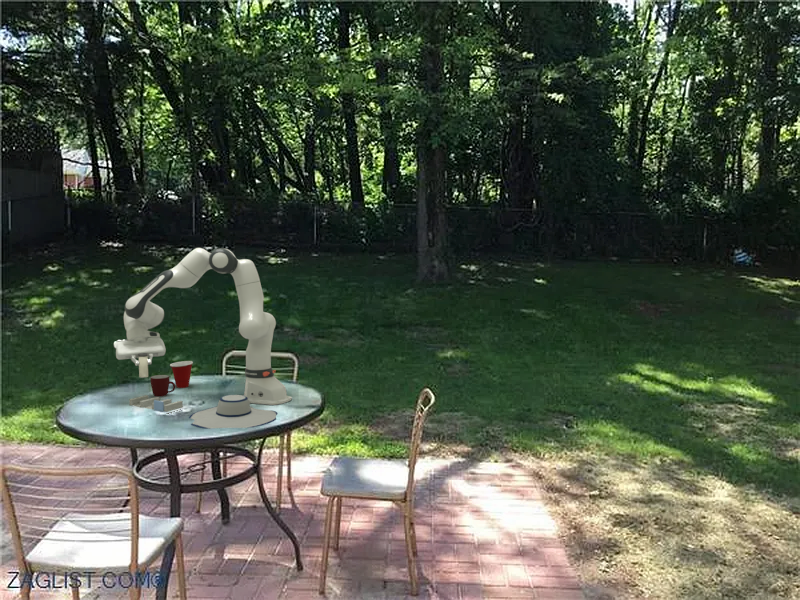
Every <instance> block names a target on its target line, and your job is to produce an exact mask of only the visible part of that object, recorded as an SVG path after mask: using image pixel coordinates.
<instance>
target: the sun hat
mask: <svg viewBox="0 0 800 600" xmlns="http://www.w3.org/2000/svg"><path fill="white" fill-rule="evenodd" d="M277 416H278V412H277V411H275V410H269V409H259V408H255V407H253V406H251V403H249V400H248V398H247V397H246V396H244V394H243V395H242V394H228V395H223V396H222V397H220V398H219V400H218V402H217V406H213V407H209V408H205V409H201V410H198V411H195V412H193V413H191V414H190V415H189V417H188V419H191V420H194V421H193V422H192V423H190V425H191V426H194V427H197V428H200V429H228V428H229V429H230V428H231V429H243V428H244V429H245V428H246V429H249V428H255V427H261V426H265V425H268V424H271V423H274V422H275V421H276V420H277Z"/></svg>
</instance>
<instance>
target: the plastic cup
mask: <svg viewBox="0 0 800 600" xmlns="http://www.w3.org/2000/svg"><path fill="white" fill-rule="evenodd" d="M193 364H194V362H193V361H192V360H184V361H177V362H173V363H170V364H169V366H170V368H171V369H172V373H173V374H172V375H173V379H174V381H175V382H174V384H175V388H178V389H186V388H189V387H190V380H191V375H192V374H191V373H192V367H193Z"/></svg>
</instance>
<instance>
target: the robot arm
mask: <svg viewBox="0 0 800 600" xmlns="http://www.w3.org/2000/svg"><path fill="white" fill-rule="evenodd" d="M209 270H213V271H214V272H217V273H218V274H230V275H231V276H232V278H233V281H234V285H235V290H236V293H237V297H238V298H237V299H238V303H239V325H238V333H239V334H240V336H242V337H243V338H244V339H246V340H248V343H247V347H246V349H245V369H244V376H245V385H244V386H245V387H244V392H243V396H246V397H247V398H248V400H249V403H250V404H256V405H258V404H259V405H270V406H274V405H275V406H276V405H281V404H285V403H287V402H290V401H291V400H292V397H293V396H290V395H287V389H286V386H285V384H283V383H282V382H281V381H280V380H279V379H278V378H276V376H275V373H276V371H277V370H276V369H274V370H273V368H272V366H271V362H272V353H271V352H272V344H273V338H274V337H273V336H274V331H275V328H276V325H277V321H276V318H275V317H274V316H273V314H272V313H269V312H266V311H264V300H265V295H264V292H263V289H262V285H261V280H260V276H259V273H258V270H257V267H256V265H255V263H254V262H253V261H252V260H251V259H247V258H242V259H238V258H237V257H236V255H235V254H234V252H233V251H231V250H230V249H228V248H221V247H219V248H215V249H214V250H213V251H211V252H209V251H207V250H206V249H204V248H202V247H195V248H194V249H193V250H191V251H190V252H189V253H188V254H186V255H185V256H184V257H183V258H182V260H180V262H179V263H178V264H176V265H175V266H174V267H173V268H172V267H171V268H170V269H167V270H164V271H162V272H161V273H159V274H157V276H155V278H153V279H152V280H151V281H150V282H148V283H147V284H146V285H145V286H144V287H143V288H141V289H140V290H139V291H138V292H136V293H134V294H133V295H131V296H129V298H128V299H127V300H126V302H125V304H124V313H123V324H124V329H125V331H126V339H117V340H116V341H114V342H113V348H114V349H115V357H116V359H117V360H118V361H119V360H131V362H133V363H134V365H135V367H137V366H138V367H139V356H138V354H139V353H148V366H149V365H152V360H153V357H163V356H165V354H166V351H167V350H166V346H165V345H166V344H165V343H164V340H163V339H162V338H161V336H160V335H161V334H160V333H159V332H158V331H151V330H152V329H154V328H156V327H157V326H159V325H161V324H162V322H163V321H164V319H165V311H164V309H163V307H161V306H159V305H158V304H156V303H153V302H152V301H151V300H152V299H153V298H154V297H156V295H158V294H159V293H161V291H162V290H164V289H167V288H179V289H188V288H189V289H190V288H191V287H192V286H194V285H195V284H197V282H198V281H199V280H200V279H201V278H202V277H203V275H204V274H205V273H206V272H208V271H209ZM137 359H138V360H137Z"/></svg>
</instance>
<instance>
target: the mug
mask: <svg viewBox="0 0 800 600" xmlns="http://www.w3.org/2000/svg"><path fill="white" fill-rule="evenodd" d="M170 385H172V389H171V390H169V388H170ZM150 386H151V387H150V388H151V391H152V395H153V397H160V398H162V397H166V396H167V395H168V394H169V393H172V392H174V391H175V390H176V383H175V382H174V381H172V380H171V381H170V375H166V374H158V375H152V376H150Z"/></svg>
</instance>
